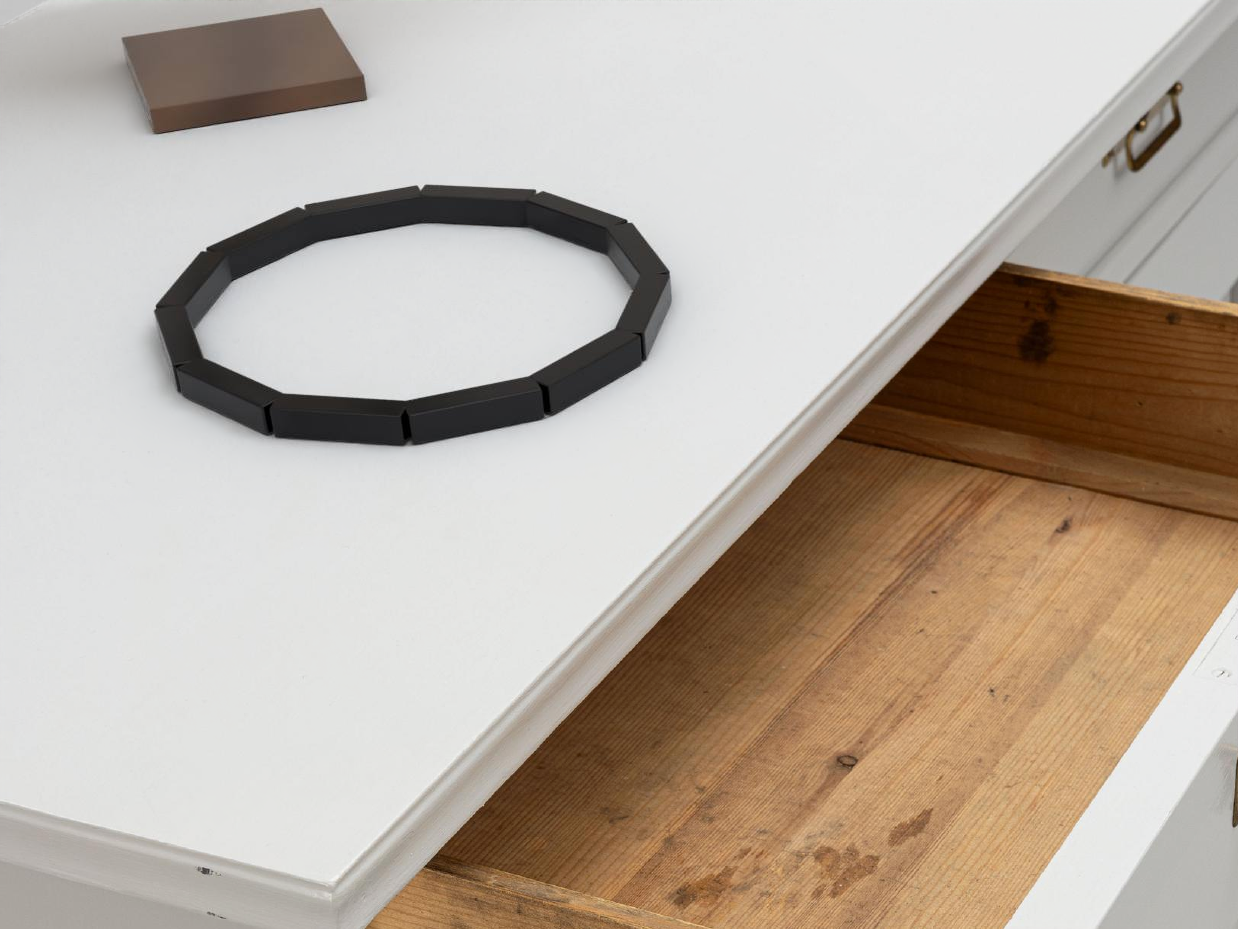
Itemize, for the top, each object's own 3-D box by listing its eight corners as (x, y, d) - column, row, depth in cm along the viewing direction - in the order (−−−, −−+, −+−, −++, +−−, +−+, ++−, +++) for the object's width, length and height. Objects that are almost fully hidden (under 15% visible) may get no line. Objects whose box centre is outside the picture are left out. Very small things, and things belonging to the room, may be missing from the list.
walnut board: (154, 134, 101) (149, 108, 101) (126, 61, 109) (121, 37, 108) (367, 99, 104) (364, 74, 103) (325, 30, 111) (322, 6, 111)
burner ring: (209, 487, 76) (202, 457, 76) (134, 261, 91) (128, 234, 90) (733, 380, 81) (732, 351, 81) (583, 181, 96) (581, 155, 95)
